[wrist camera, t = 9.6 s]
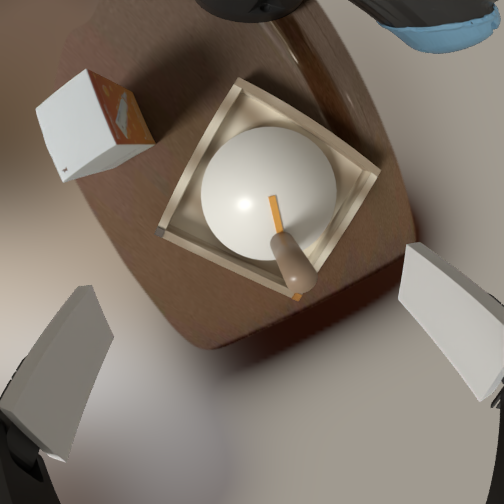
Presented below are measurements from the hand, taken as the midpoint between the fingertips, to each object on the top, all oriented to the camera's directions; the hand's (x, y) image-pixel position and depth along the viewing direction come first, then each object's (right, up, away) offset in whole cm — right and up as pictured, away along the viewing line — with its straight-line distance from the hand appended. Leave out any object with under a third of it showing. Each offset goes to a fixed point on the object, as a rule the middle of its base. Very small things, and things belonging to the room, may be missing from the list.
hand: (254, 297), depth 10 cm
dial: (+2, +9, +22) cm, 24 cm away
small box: (-16, +17, +18) cm, 30 cm away
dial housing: (+2, +9, +23) cm, 25 cm away
